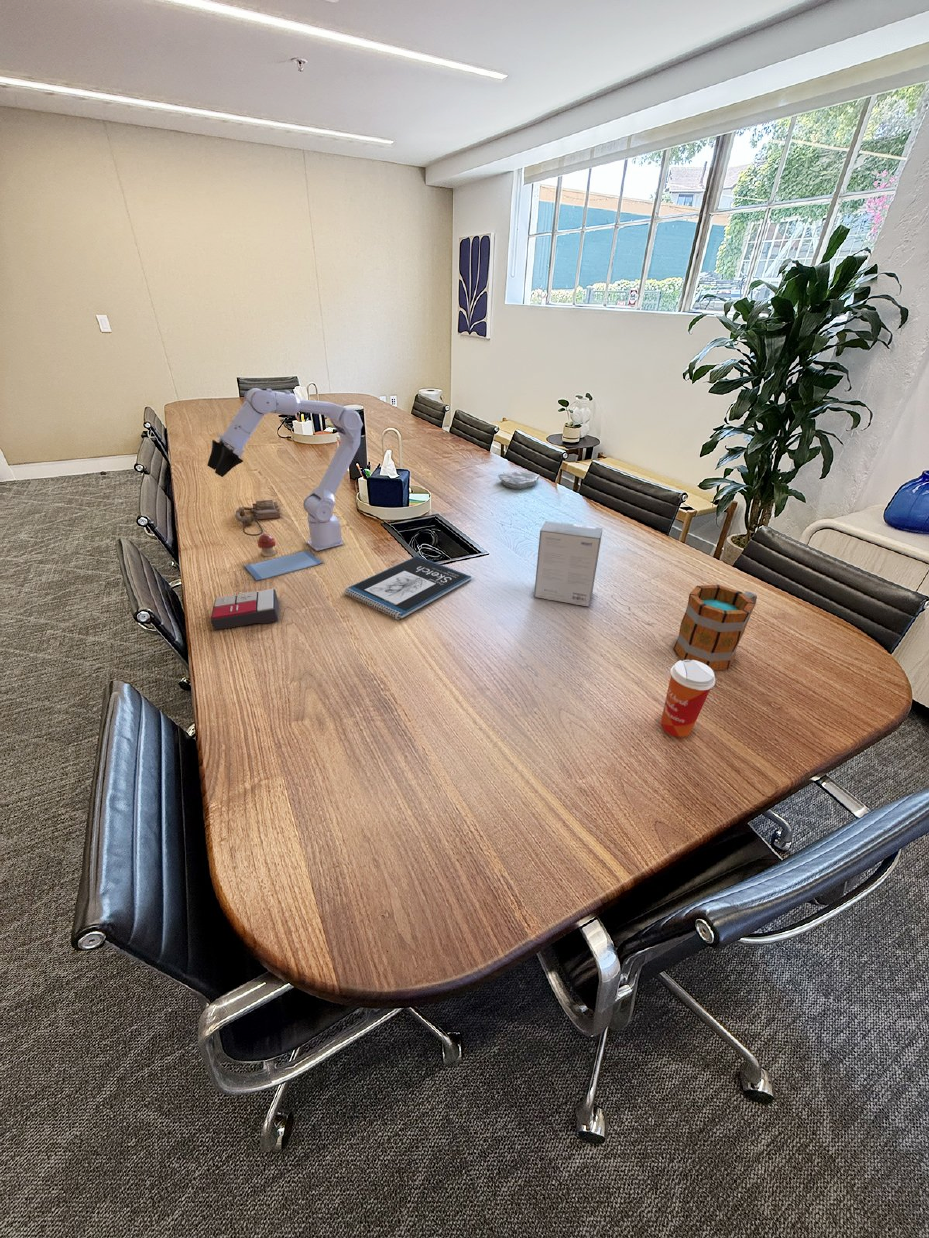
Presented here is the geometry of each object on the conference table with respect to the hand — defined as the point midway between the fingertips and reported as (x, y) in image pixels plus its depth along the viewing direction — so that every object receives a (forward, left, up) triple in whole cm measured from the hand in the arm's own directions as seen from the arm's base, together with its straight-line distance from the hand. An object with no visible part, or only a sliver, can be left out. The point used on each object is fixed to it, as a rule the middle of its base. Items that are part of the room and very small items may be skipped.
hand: (214, 471), depth 139 cm
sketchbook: (-35, +42, -29) cm, 61 cm away
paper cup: (-47, +120, -29) cm, 132 cm away
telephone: (-17, -32, -29) cm, 47 cm away
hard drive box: (-67, +71, -29) cm, 102 cm away
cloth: (-11, +8, -28) cm, 32 cm away
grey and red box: (+7, +31, -29) cm, 42 cm away
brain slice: (-125, -12, -29) cm, 129 cm away
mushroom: (-10, -2, -28) cm, 30 cm away
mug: (-77, +110, -29) cm, 137 cm away
